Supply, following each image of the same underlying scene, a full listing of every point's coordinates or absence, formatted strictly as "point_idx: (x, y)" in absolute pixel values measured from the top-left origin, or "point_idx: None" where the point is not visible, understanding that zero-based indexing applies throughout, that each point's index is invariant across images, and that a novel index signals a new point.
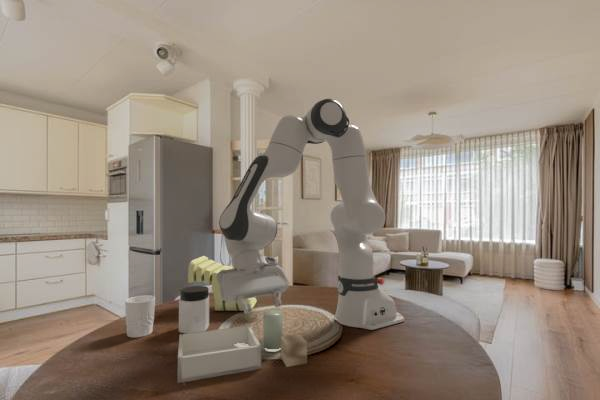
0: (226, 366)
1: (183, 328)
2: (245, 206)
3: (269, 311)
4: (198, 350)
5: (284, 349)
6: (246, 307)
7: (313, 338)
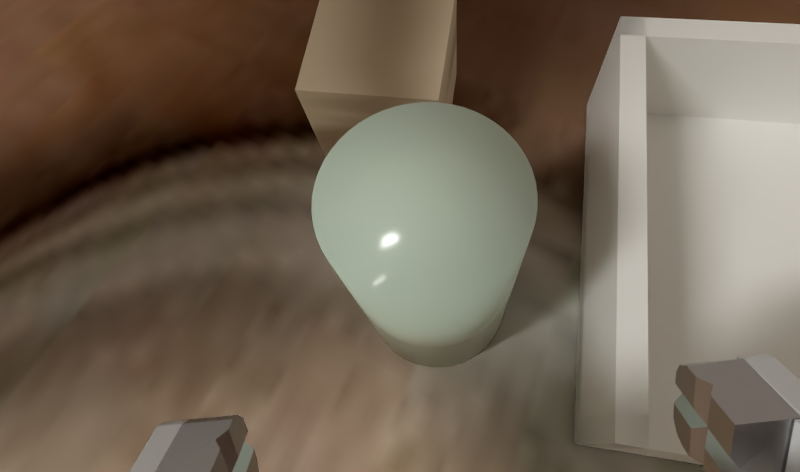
0: None
1: None
2: None
3: (433, 273)
4: None
5: (450, 57)
6: (781, 378)
7: (124, 314)
